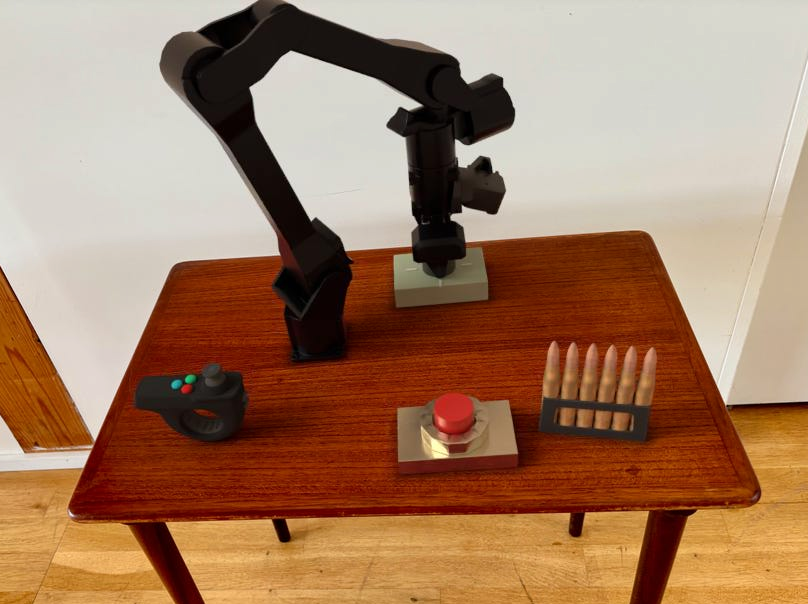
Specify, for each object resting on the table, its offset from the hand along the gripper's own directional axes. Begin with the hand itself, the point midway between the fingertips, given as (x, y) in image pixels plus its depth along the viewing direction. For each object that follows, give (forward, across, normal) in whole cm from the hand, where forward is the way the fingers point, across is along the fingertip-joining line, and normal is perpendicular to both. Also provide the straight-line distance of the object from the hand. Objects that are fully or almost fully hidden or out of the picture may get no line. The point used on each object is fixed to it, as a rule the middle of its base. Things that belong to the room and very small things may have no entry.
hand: (439, 266), depth 94 cm
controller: (+3, -24, +28) cm, 37 cm away
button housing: (+3, -28, 0) cm, 28 cm away
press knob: (-1, -28, 0) cm, 28 cm away
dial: (0, 0, 0) cm, 0 cm away
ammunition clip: (+3, -27, -14) cm, 31 cm away
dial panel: (+3, 0, 0) cm, 3 cm away
